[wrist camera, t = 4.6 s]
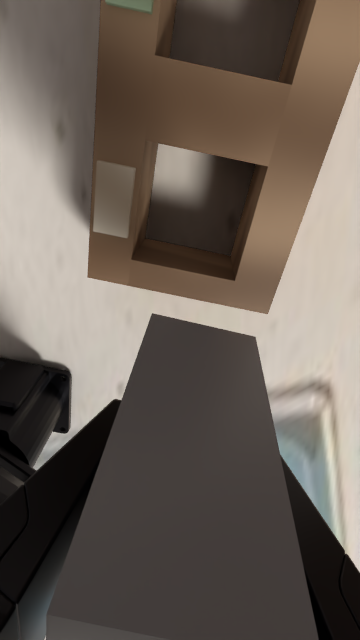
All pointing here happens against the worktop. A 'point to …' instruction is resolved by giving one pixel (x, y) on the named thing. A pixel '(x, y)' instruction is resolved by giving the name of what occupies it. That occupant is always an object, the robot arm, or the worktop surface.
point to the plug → (187, 506)
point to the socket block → (212, 145)
